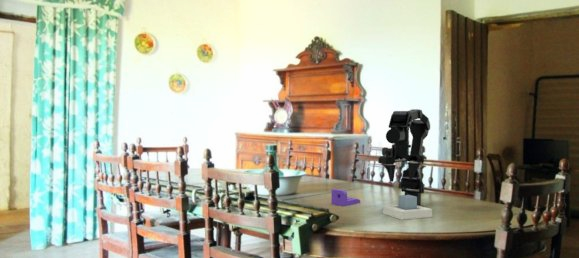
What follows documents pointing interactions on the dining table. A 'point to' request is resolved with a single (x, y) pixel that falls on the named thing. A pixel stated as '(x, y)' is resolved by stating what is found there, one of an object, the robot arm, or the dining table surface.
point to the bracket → (342, 198)
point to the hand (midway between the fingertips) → (401, 180)
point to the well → (407, 212)
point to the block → (407, 202)
